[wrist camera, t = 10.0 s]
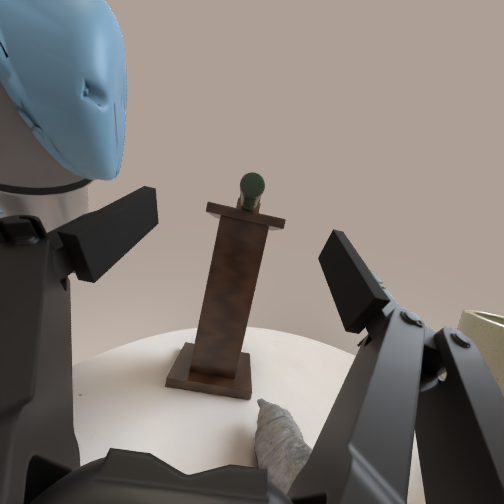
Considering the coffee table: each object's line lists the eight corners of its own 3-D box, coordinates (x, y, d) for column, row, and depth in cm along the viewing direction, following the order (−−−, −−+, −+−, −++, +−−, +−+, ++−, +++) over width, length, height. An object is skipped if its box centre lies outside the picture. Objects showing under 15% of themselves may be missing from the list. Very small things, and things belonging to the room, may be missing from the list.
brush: (270, 202, 18) (279, 160, 18) (229, 192, 18) (238, 150, 18) (255, 219, 39) (259, 200, 39) (236, 215, 39) (240, 195, 39)
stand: (164, 386, 30) (200, 199, 28) (184, 348, 40) (211, 209, 38) (250, 400, 31) (292, 220, 29) (248, 359, 41) (279, 224, 39)
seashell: (280, 396, 29) (293, 368, 25) (335, 554, 18) (373, 549, 14) (240, 408, 27) (248, 379, 23) (276, 592, 16) (302, 598, 12)
